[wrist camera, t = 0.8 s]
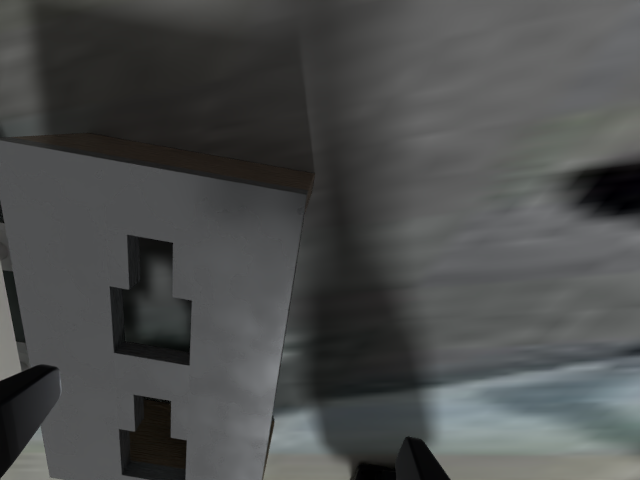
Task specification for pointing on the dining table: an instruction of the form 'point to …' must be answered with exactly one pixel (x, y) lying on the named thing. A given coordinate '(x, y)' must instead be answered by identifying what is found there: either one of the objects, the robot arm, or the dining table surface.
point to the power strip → (8, 322)
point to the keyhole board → (188, 283)
